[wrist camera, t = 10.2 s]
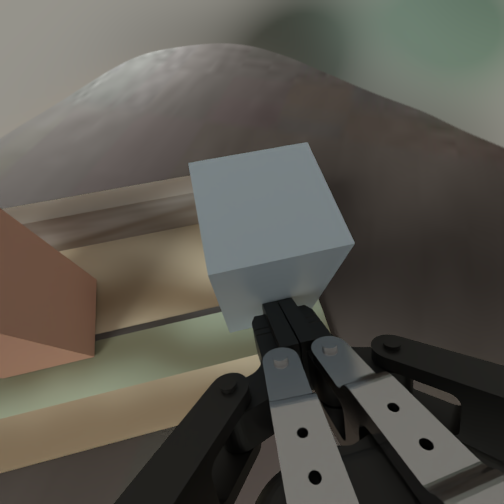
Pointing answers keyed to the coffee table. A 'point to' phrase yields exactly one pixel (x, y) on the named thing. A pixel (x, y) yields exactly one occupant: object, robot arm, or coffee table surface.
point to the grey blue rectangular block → (267, 229)
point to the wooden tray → (125, 325)
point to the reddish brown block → (41, 304)
